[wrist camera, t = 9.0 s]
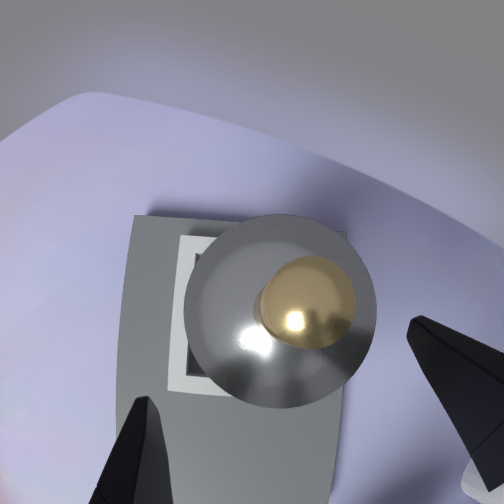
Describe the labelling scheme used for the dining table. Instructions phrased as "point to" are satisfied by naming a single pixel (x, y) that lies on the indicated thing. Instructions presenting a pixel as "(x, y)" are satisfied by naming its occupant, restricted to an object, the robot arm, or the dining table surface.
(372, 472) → the dining table surface
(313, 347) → the gold-capped silver bottle
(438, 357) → the robot arm
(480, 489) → the shot glass
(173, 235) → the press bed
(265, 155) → the dining table surface
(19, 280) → the dining table surface
